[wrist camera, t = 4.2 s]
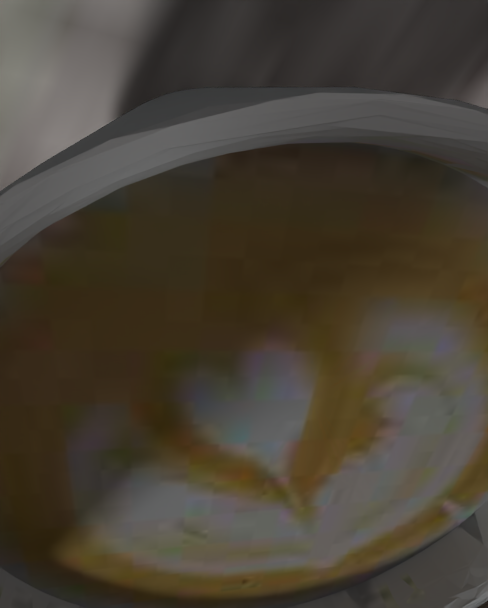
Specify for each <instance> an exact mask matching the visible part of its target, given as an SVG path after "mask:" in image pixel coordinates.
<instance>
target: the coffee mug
mask: <svg viewBox="0 0 488 608" xmlns="http://www.w3.org/2000/svg"><path fill="white" fill-rule="evenodd" d="M487 601H488V109H486V108H483V107H479V106H476V105H472V104H469V103H465V102H462V101H458V100H452V99H444V98H436V97H428V96H420V95H412V94H405V93H397V92H389V91H381V90H373V89H366V88H358V87H251V88H196V89H188V90H183V91H177V92H173V93H169V94H166V95H163V96H160V97H158V98H155V99H153V100H150V101H147V102H146V103H144V104H142V105H140V106H138V107H136V108H135V109H133V110H131V111H129V112H128V113H126V114H124V115H122V116H121V117H119V118H117V119H116V120H114V121H112V122H111V123H109V124H107V125H106V126H104V127H102V128H101V129H99V130H97V131H95V132H94V133H92V134H90V135H89V136H87V137H85V138H84V139H82V140H80V141H79V142H77V143H75V144H74V145H72V146H70V147H68V148H67V149H65V150H63V151H62V152H60V153H58V154H57V155H55V156H53V157H52V158H50V159H48V160H47V161H45V162H43V163H42V164H40V165H39V166H37V167H36V168H34V169H33V170H31V171H30V172H28V173H27V174H25V175H24V176H22V177H21V178H19V179H18V180H16V181H15V182H13V183H12V184H10V185H9V186H7V187H6V188H4V189H3V190H1V191H0V608H477V607H479V606H480V605H482V604H483V603H485V602H487Z"/></svg>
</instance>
